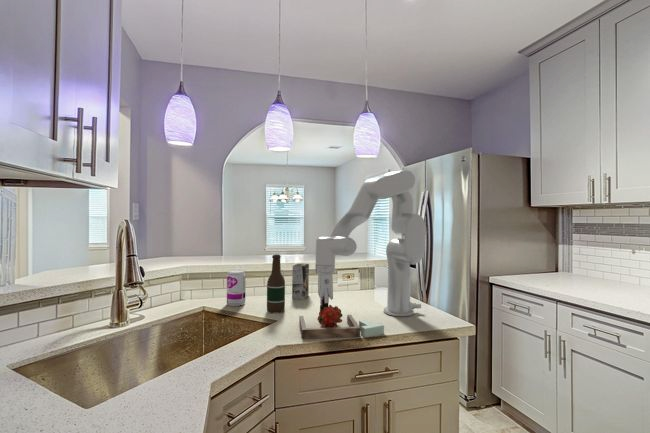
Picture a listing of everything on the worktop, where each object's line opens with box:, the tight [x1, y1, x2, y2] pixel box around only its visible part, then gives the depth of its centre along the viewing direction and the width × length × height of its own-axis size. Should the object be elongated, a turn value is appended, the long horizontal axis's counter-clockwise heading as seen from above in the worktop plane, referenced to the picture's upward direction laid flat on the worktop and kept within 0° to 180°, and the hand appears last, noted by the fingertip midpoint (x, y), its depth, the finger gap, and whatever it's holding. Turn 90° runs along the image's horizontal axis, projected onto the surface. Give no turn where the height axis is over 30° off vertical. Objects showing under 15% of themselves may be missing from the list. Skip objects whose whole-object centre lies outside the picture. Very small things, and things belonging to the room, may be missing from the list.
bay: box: [298, 314, 361, 340], centre depth 128 cm, size 20×16×3 cm
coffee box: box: [291, 263, 310, 300], centre depth 176 cm, size 9×6×16 cm
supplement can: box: [226, 269, 247, 307], centre depth 161 cm, size 8×8×15 cm
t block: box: [358, 319, 385, 338], centre depth 127 cm, size 8×8×3 cm
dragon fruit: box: [317, 304, 343, 328], centre depth 131 cm, size 8×8×12 cm
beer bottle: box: [266, 254, 286, 314], centre depth 151 cm, size 8×8×24 cm
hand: (324, 315), depth 137 cm, fingers closed
